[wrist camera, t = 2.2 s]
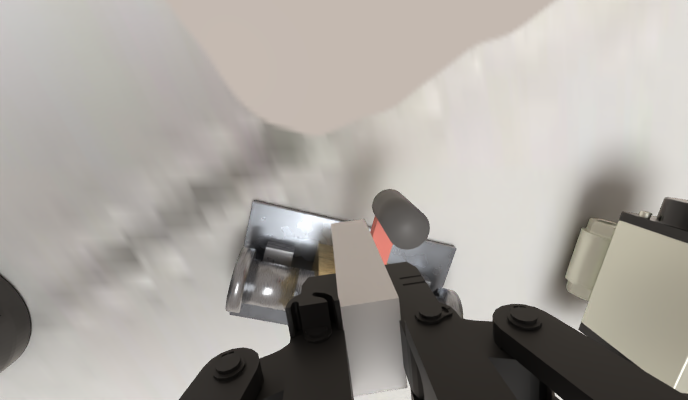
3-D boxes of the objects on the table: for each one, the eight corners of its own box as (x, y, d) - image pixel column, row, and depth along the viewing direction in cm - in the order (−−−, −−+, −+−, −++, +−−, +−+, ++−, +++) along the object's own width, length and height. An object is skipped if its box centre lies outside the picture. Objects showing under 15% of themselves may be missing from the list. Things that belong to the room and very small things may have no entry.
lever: (367, 354, 31) (380, 409, 25) (321, 346, 30) (323, 401, 24) (418, 195, 27) (446, 217, 21) (368, 183, 27) (382, 201, 21)
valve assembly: (231, 310, 39) (204, 370, 30) (254, 200, 36) (232, 228, 27) (418, 344, 43) (446, 407, 33) (453, 245, 40) (495, 285, 30)
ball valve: (592, 318, 44) (769, 448, 27) (533, 312, 43) (679, 443, 26) (641, 187, 40) (889, 241, 23) (578, 177, 39) (786, 226, 22)
